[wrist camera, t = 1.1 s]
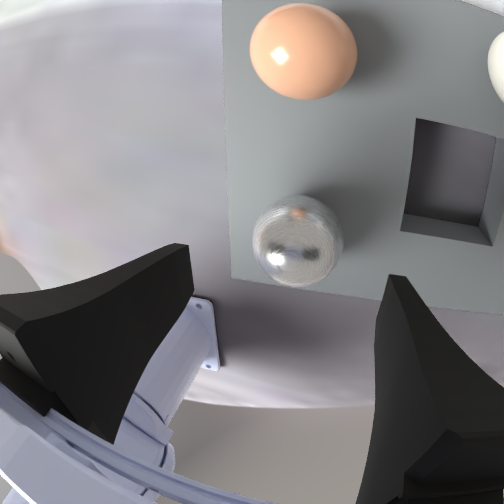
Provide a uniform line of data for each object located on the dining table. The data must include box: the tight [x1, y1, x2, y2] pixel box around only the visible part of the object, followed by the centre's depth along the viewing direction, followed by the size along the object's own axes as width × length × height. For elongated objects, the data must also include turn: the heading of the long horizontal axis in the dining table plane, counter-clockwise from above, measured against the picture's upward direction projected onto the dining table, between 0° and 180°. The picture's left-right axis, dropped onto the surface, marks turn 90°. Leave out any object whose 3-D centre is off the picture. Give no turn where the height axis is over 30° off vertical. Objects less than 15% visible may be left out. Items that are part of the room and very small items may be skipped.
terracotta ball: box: [250, 2, 358, 100], centre depth 10 cm, size 4×4×4 cm
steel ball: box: [252, 195, 344, 287], centre depth 14 cm, size 4×4×4 cm
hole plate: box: [222, 0, 504, 315], centre depth 13 cm, size 17×16×2 cm
